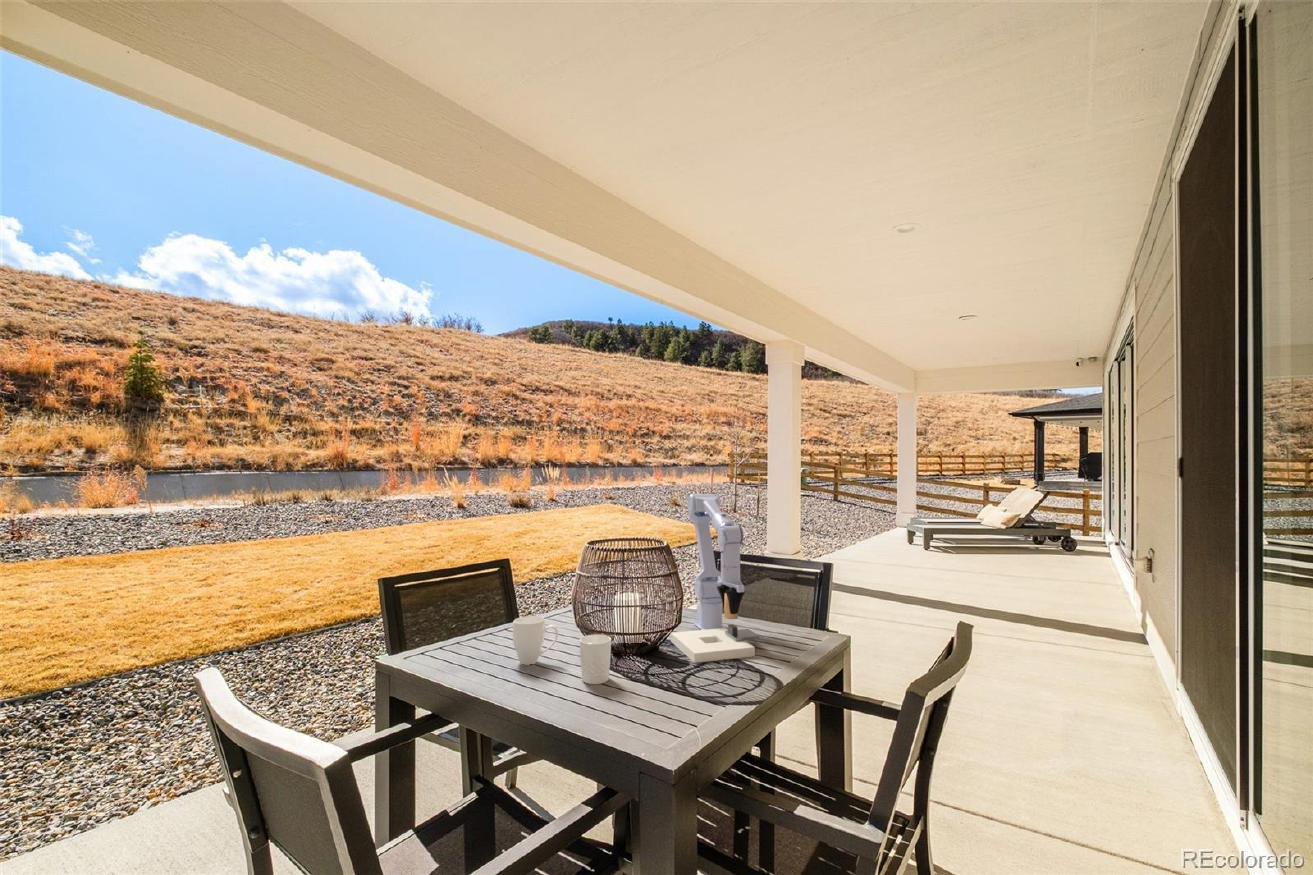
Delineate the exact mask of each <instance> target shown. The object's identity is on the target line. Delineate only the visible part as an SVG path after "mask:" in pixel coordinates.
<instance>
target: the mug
mask: <svg viewBox="0 0 1313 875" xmlns="http://www.w3.org/2000/svg"><path fill="white" fill-rule="evenodd" d="M545 626H546V625H545V618H543V617H542V616H538V615H537V616H536V615H528V616H520V617H518V618H517V617H516V618H515V619H514V620H513V622H512V641H513V646H514V649H515V652H516V655H517V657H518V660H519V663H520V664H521V665H522V664H525V665H524V666H531V665H530V664H533V665H535V664H536V663H538V659H539V657H540V655H542V654H544V653H545V652H547V651H548V650H549V649H550V648H551V647H552V646H554V644H555V643H556V642H557V640H558V637H559V631H558V629H557V626H556V625H554V624H549V625H548V626H546V627H545ZM550 628H552V629H553V630H554V632H555V637H554V640H553V641H552V642H551V644H549V645H548V646H547V647H546V648H545V649H543V650H542V648H543V645H544V641H545V636H546V632H547V630H549V629H550Z"/></svg>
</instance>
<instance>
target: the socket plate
mask: <svg viewBox="0 0 1313 875" xmlns="http://www.w3.org/2000/svg"><path fill="white" fill-rule="evenodd" d="M726 628H727V627H725V628H718V629H707V630H701V629H698V630H687V631H685V630H684V631H676V632H675V631H674V632H670V642H671V643H672V644H673V645H675V647H676V648H678V650H680V651H681V652H682V653H683V654H684V655H685V656H686V657H687V658H689V659H690V660H691V661H692V662H693V663H695V664H696V663H706V662H714V661H715V662H716V661H723V660H724V659H725V660H732V659H742V658H743V659H744V658H751V657H752V656H753V657H756V656H755V655H756V653H755V652H756V649H755V646H753V645H752V644H751V643H749V642H748V641H747V640H742V641H735V640H734V639H732V638H731V637H729V636H728V635H726V634H725V631H728V628H727V629H726ZM753 657H752V658H753Z"/></svg>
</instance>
